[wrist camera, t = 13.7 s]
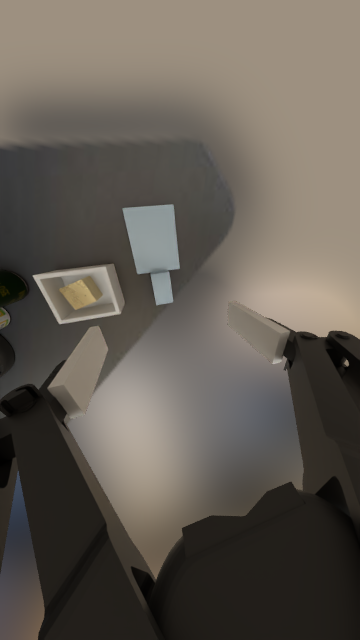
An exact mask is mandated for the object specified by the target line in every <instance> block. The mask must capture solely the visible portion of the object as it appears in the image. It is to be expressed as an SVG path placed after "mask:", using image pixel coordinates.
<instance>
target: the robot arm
mask: <svg viewBox="0 0 360 640" xmlns="http://www.w3.org/2000/svg"><path fill="white" fill-rule="evenodd" d="M227 324H228V325H229V326H230V327H231V328H232V329H233V330H234V331H236V333H238V334H239V335H240V336H241V337H242V338H243V339H244V340H245V341H247V342H248V343H249V344H250V345H251V346H252V347H253V348H255V349H256V350H257V351H258V352H259V353H260V354H261V355H263V356H264V357H265V358H266V359H267V360H268V361H269V362H270V363H271V364H275V363H279V362H281V361H282V357H283V356H285V357H286V358H287V361H286V364H285V367H284V370H286V369H287V370H288V376H289V382H290V388H291V394H292V400H293V405H294V411H295V418H296V424H297V430H298V435H299V442H300V447H301V454H302V459H303V467H304V473H303V491H302V490H298V489H296V488H295V487H294V485H293V484H292V482H289V483H286V484H284V485H282V486H279V487H277V488H275V489H272V490H270V491H268V492H266V493H265V494H264V496H263V497H262V498H261V499H260V500H259V501H258V502H257V504H256V505H255V506H254V507H253V508H252V510H251V511H250V512H249V513H248V514H247V515H246V516H242V517H240V516H209V517H207V518H204V519H202V520H200V521H197V522H195V523H193V524H190V525H188V526H186V527H183V528H182V532H183V536H182V537H181V538H180V539H179V540H178V541H177V542H176V544H175V545H174V547H173V548H172V549H171V551H170V552H169V554H168V556H167V558H166V560H165V561H164V563H163V565H162V567H161V570H160V572H159V574H158V577H157V579H155V577H154V575H153V574H152V572H151V570H150V569H149V567H148V565H147V563H146V561H145V560H144V558H143V557H142V555H141V554H140V552H139V550H138V549H137V548H136V546H135V545H134V543H133V542H132V540H131V539H130V537H129V536H128V534H127V532H126V530H125V528H124V526H123V525H122V523H121V521H120V519H119V517H118V516H117V514H116V512H115V510H114V509H113V507H112V505H111V503H110V501H109V500H108V498H107V496H106V494H105V492H104V491H103V489H102V487H101V485H100V484H99V482H98V480H97V478H96V476H95V475H94V473H93V471H92V469H91V467H90V466H89V464H88V462H87V460H86V459H85V457H84V455H83V453H82V451H81V449H80V448H79V446H78V444H77V442H76V441H75V439H74V437H73V435H72V433H71V432H70V430H69V428H68V426H67V424H66V423H65V422H64V418H65V416H66V414H68V416H69V417H70V418H71V419H73V418H77V417H80V416H84V415H85V413H86V411H87V407H88V405H89V402H90V399H91V397H92V394H93V391H94V388H95V385H96V383H97V380H98V377H99V374H100V371H101V369H102V366H103V363H104V360H105V357H106V355H107V352H108V347H107V345H106V342H105V340H104V337H103V335H102V333H101V330H100V328H99V326H94V327H90V328H89V329H88V331H87V332H86V334H85V335H84V336H83V338H82V339H81V341H80V342H79V344H78V345H77V346H76V348H75V349H74V351H73V352H72V354H71V355H70V356H69V358H68V359H67V360H64V361H62V362H61V363H60V364H59V365H58V366H56V368H55V369H54V370H53V372H52V373H51V374H50V376H49V377H48V379H47V380H46V381H45V382H44V384H43V385H42V386H41V388H40V389H39V390H38V389H37V388H36V387H35V386H34V385H33V384H27V385H23V386H20V387H18V388H16V389H14V390H13V391H11V392H9V393H8V394H7V395H5V396H4V397H3V398H2V399H1V400H0V411H1V412H2V413H3V414H5V415H6V417H4V418H2V419H0V572H1V566H2V560H3V554H4V548H5V542H6V537H7V531H8V525H9V519H10V513H11V507H12V501H13V495H14V490H15V483H16V478H17V472H18V470H19V476H20V481H21V486H22V491H23V496H24V501H25V507H26V511H27V517H28V522H29V527H30V532H31V537H32V543H33V548H34V553H35V558H36V563H37V569H38V573H39V579H40V584H41V589H42V594H43V599H44V607H45V615H44V620H43V623H42V625H41V628H40V631H39V636H38V640H360V340H359V339H358V338H357V337H355V336H353V335H351V334H348V333H347V332H343V331H330V332H329V334H328V336H327V337H318V336H316V335H314V334H312V333H309V332H295V331H293V330H291V329H289V328H287V327H286V326H284V325H281V324H280V323H277V322H276V321H274V320H272V319H269V318H266V317H264V316H262V315H260V314H258V313H257V312H255V311H253V310H251V309H249V308H247V307H246V306H244V305H242V304H240V303H238V302H237V301H230V302H229V303H228V319H227ZM14 359H15V358H14V352H13V350H12V348H11V346H10V345H9V343H8V342H7V341H6V340H5V339H4V338H3V337H2V336H1V335H0V377H1V376H3V375H4V374H5V373H6V372H7V371H8V370H9V369H10V368H11V367H12V366H13V363H14ZM346 359H347V360H348V362H349V366H348V367H347V366H346V365H345V364H344V362H345V361H346Z"/></svg>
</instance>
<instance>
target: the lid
mask: <svg viewBox="0 0 360 640" xmlns="http://www.w3.org/2000/svg"><path fill="white" fill-rule="evenodd" d="M122 209H123V213H124V218H125V222H126V227H127V231H128V235H129V240H130V244H131V248H132V253H133V257H134V261H135V266H136V270H137V274H143V273H150V274H151V279H152V285H153V290H154V295H155V301H156V305H160V304H166V303H172V302H173V296H172V289H171V281H170V273H169V271H168V270H173V269H180V267H179V256H178V246H177V236H176V226H175V216H174V206H173V204H171V205H158V206H145V207H131V208H122Z"/></svg>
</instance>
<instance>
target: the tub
mask: <svg viewBox="0 0 360 640" xmlns="http://www.w3.org/2000/svg"><path fill="white" fill-rule="evenodd" d="M88 276H91V278H92V279H93V281H94V282H95V284H96V285H97V287H98V288H99V290H100V291H101V293H102V294H103V295H102V296H101V297H100V298H99V299H98V300H97V301H96V302H93V303H91V304H89V305H86V306H84V307H82V308H79V309H77V310H75V309H74V308H73V306H72V305H71V304H70V303H69V302H68V300H67V299H66V298H65V297H64V295H63V294H62V293H61V292H60V291H59V289H60V288H63V287H65V286H67V285H69V284H72V283H74V282H76V281H79V280H81V279H83V278H86V277H88ZM33 277H34V279H35V281H36V283H37V284H38V286H39V288H40V290H41V292H42V294H43V295H44V297H45V299H46V301H47V303H48V304H49V306H50V308H51V310H52V312H53V313H54V315H55V317H56V319H57V321H58V323H59V324H64V323H70V322H76V321H82V320H88V319H94V318H99V317H105V316H111V315H117V314H121V312H122V309H123V307H124V305H125V301H124V297H123V294H122V290H121V287H120V284H119V280H118V277H117V273H116V270H115V266H114V263H113V264H105V265H97V266H88V267H80V268H72V269H64V270H56V271H51V272H46V273H42V274H37V275H33Z"/></svg>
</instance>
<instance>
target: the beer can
mask: <svg viewBox="0 0 360 640" xmlns="http://www.w3.org/2000/svg"><path fill="white" fill-rule="evenodd" d="M27 292H28V287H27V284H26V282H25V281H24V280H23V279H22V278H21V277H20V276H18V275H17V274H15V273H12V272H9V271H6V270H0V308H1V307H4V306H6V305H9V304H11V303H14V302H16V301H19V300H21V299H23V298H24V297H25V296H26V294H27Z"/></svg>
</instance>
